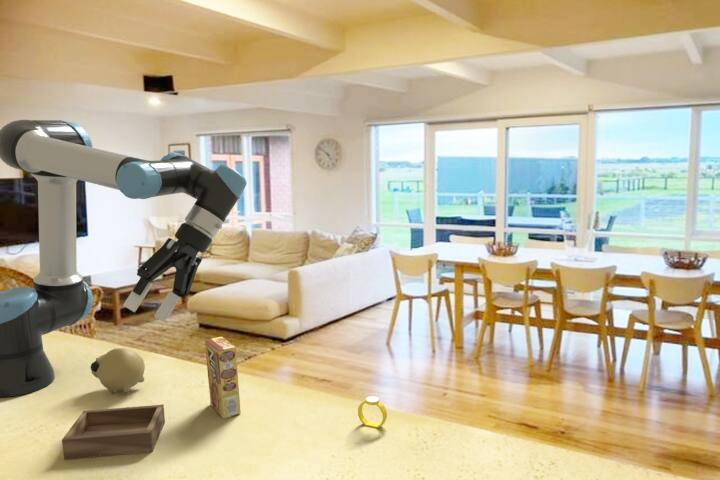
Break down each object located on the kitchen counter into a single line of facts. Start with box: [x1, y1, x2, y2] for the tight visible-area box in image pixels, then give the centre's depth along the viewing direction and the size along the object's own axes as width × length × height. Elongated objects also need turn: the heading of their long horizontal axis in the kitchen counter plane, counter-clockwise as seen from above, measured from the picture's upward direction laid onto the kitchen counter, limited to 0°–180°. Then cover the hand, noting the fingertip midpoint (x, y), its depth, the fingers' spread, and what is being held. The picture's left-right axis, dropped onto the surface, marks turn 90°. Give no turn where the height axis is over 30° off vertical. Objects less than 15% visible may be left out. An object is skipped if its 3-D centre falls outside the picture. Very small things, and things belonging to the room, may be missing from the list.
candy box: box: [204, 336, 241, 419], centre depth 127 cm, size 9×4×15 cm, turn 33°
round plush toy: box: [90, 347, 146, 395], centre depth 139 cm, size 10×12×11 cm
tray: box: [61, 404, 166, 461], centre depth 116 cm, size 12×16×4 cm
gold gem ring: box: [357, 395, 388, 429], centre depth 119 cm, size 6×3×6 cm, turn 64°
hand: (144, 314), depth 124 cm, fingers open, 13 cm apart
